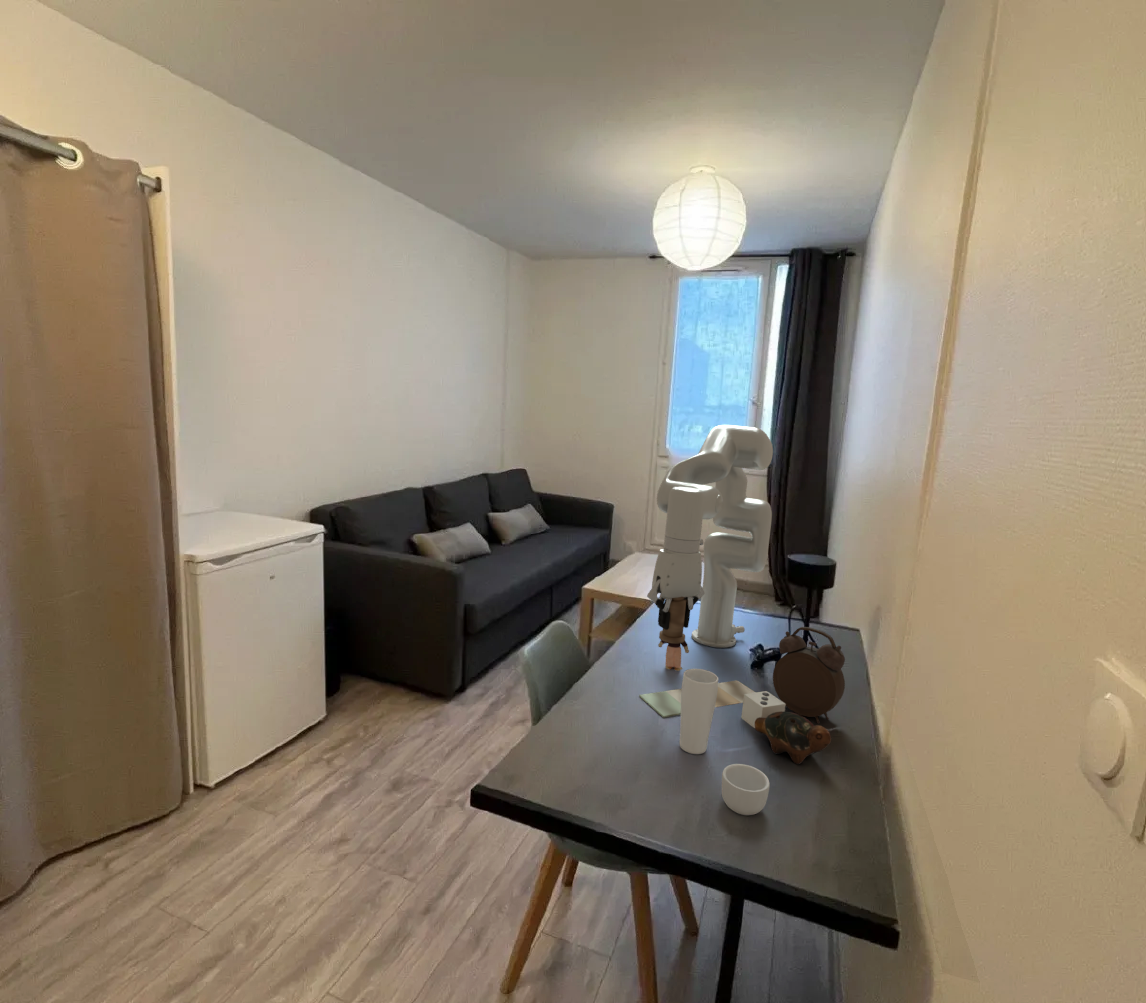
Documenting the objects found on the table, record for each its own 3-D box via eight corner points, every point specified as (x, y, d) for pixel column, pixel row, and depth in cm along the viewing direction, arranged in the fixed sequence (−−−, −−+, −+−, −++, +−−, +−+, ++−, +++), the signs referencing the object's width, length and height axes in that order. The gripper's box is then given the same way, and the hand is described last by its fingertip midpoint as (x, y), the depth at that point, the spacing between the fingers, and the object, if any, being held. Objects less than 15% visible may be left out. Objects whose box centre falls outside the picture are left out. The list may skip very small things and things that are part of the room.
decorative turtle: (821, 779, 114) (823, 738, 113) (743, 750, 124) (744, 713, 123) (838, 756, 122) (840, 718, 120) (764, 731, 131) (765, 695, 130)
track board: (736, 681, 153) (737, 680, 153) (764, 700, 145) (765, 698, 144) (639, 696, 142) (639, 694, 141) (663, 717, 133) (663, 716, 133)
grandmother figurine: (685, 667, 160) (690, 620, 158) (687, 673, 156) (692, 625, 154) (655, 664, 160) (660, 617, 158) (656, 670, 157) (661, 622, 155)
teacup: (766, 827, 100) (771, 796, 99) (717, 815, 102) (721, 785, 101) (764, 791, 109) (768, 763, 108) (720, 781, 111) (723, 753, 110)
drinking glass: (689, 760, 117) (698, 685, 115) (668, 742, 123) (676, 670, 121) (717, 753, 120) (726, 680, 118) (695, 736, 126) (703, 666, 124)
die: (763, 716, 137) (766, 690, 136) (782, 730, 131) (785, 703, 130) (741, 720, 134) (744, 693, 133) (759, 734, 129) (762, 706, 128)
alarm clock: (842, 722, 137) (855, 635, 134) (830, 733, 132) (843, 643, 129) (779, 697, 147) (790, 616, 144) (765, 707, 141) (776, 622, 138)
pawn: (675, 632, 140) (681, 579, 138) (690, 642, 135) (696, 586, 133) (654, 635, 137) (659, 580, 136) (668, 644, 132) (674, 588, 131)
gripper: (703, 540, 140) (694, 617, 143) (638, 542, 133) (631, 623, 136) (724, 548, 133) (714, 629, 136) (657, 550, 126) (649, 636, 129)
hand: (673, 625), depth 136 cm, fingers closed on pawn, 4 cm apart
